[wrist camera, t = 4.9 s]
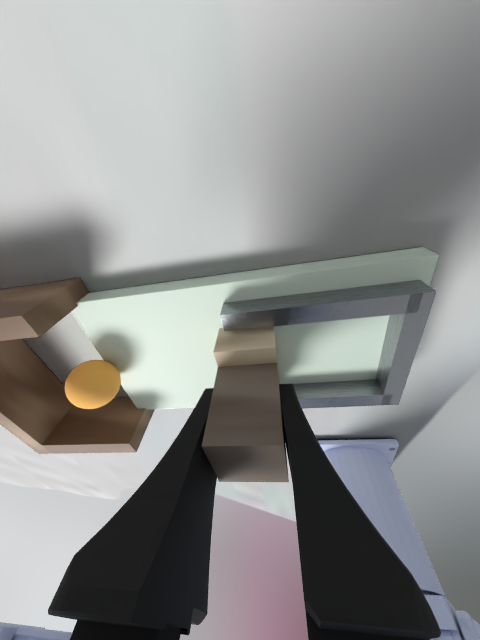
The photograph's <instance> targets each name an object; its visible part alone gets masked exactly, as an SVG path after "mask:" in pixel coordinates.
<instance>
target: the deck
mask: <svg viewBox="0 0 480 640" xmlns="http://www.w3.org/2000/svg"><path fill="white" fill-rule="evenodd" d="M438 258H439V255H438V254H436V253H434V252H432V251H430V250H428V249H426V248H425V247H419V248H412V249H404V250H397V251H390V252H382V253H375V254H368V255H361V256H353V257H346V258H339V259H332V260H324V261H317V262H310V263H303V264H295V265H288V266H281V267H273V268H266V269H259V270H252V271H244V272H237V273H230V274H223V275H215V276H208V277H201V278H194V279H186V280H179V281H172V282H164V283H157V284H150V285H143V286H135V287H128V288H121V289H114V290H106V291H99V292H92V293H88V294H87V295H86V296H84V297H83V298H82V299H80V300H79V301H78V302H77V303H76V304H77V305H78V306H77V307H76V308H75V309H74V310H72V311H71V313H72V315H73V316H74V318H75V319H76V320H77V322H78V323H79V325H80V326H81V328H82V329H83V331H84V332H85V333H86V335H87V336H88V338H89V339H90V341H91V342H92V344H93V345H94V346H95V348H96V349H97V351H98V352H99V354H100V355H101V357H102V358H103V360H104V361H107V362H109V363H111V364H112V365H114V366H115V367H116V368H117V370H118V371H119V374H120V377H121V386H122V387H123V388H124V390H125V391H126V393H127V394H128V396H129V397H130V399H131V400H132V401H133V403H134V404H135V406H136V407H137V409H141V408H146V410H153V409H176V408H195V406H196V405H197V403H198V401H199V399H200V397H201V395H202V393H203V391H204V390H205V389H206V388H214V384H215V379H216V374H217V369H218V366H217V363H216V359H215V356H214V353H213V352H214V347H215V343H216V339H217V335H218V331H219V328H223V325H222V321H221V317H220V313H221V309H222V306H223V303H226V302H235V301H243V300H252V299H260V298H269V297H277V296H286V295H294V294H303V293H311V292H320V291H328V290H337V289H345V288H354V287H362V286H371V285H379V284H388V283H396V282H405V281H413V280H421V281H423V282H424V283H425V284H427V285H428V286H429V287H430V283H431V280H432V277H433V274H434V271H435V267H436V264H437V261H438ZM389 316H390V315H387V316H376V317H366V318H356V319H346V320H335V321H325V322H315V323H305V324H294V325H284V326H274V334H275V343H276V351H277V360H278V369H279V377H280V384H300V383H317V382H334V381H352V380H369V379H376V374H377V370H378V365H379V361H380V356H381V352H382V347H383V343H384V338H385V334H386V329H387V325H388V320H389Z"/></svg>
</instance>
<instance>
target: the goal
mask: <svg viewBox="0 0 480 640" xmlns="http://www.w3.org/2000/svg"><path fill="white" fill-rule="evenodd" d="M88 293H89V292H88V290H87V289H86V287H85V285H84V284H83V282H82V280H81V279H80V278H75V279H68V280H61V281H55V282H48V283H42V284H35V285H28V286H22V287H15V288H8V289H2V290H0V425H2V426H3V427H4V428H6V429H7V430H8V431H10V432H11V433H12V434H14V435H15V436H16V437H18V438H19V439H20V440H21V441H23V442H24V443H25V444H27V445H28V446H29V447H31V448H32V449H33V450H35V451H36V452H37V453H39V454H45V453H121V452H137V449H138V447H139V445H140V442H141V440H142V438H143V435H144V433H145V431H146V428H147V426H148V424H149V421H150V419H151V417H152V414H153V412H154V409H153V410H146V408H141V409H137V407H136V406H135V404H134V403H133V401H132V400H131V399H130V397H119V398H113V399H112V400H111V401H110V402H109V403H107V404H106V405H104V406H101V407H99V408H95V409H83V408H79V407H77V406H75V405H73V404H72V403H71V402H70V401H69V400H68V398H67V396H66V394H65V386H64V385H63V384H62V383H61V382H60V381H59V380H58V378H57V377H56V376H55V375H54V374H53V373H52V372H51V371H50V370H49V368H48V367H47V366H46V365H45V364H44V363H43V362H42V361H41V360H40V358H39V357H38V356H37V355H36V354H35V353H34V352H33V351H32V350H31V348H30V347H29V346H28V345H27V344H26V343H25V342H24V341H23V340H22V339H24V338H33V337H40V336H41V335H42V334H43V333H45V332H46V331H47V330H48V329H50V328H51V327H52V326H53V325H55V324H56V323H57V322H58V321H60V320H61V319H62V318H63V317H65V316H66V315H67V314H69V313H70V312H71V311H72V310H74V309H75V308H76V307H77V306H78V305H77V304H76V303H77V302H78V301H79V300H80V299H82V298H83V297H84V296H86V295H87V294H88Z"/></svg>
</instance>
